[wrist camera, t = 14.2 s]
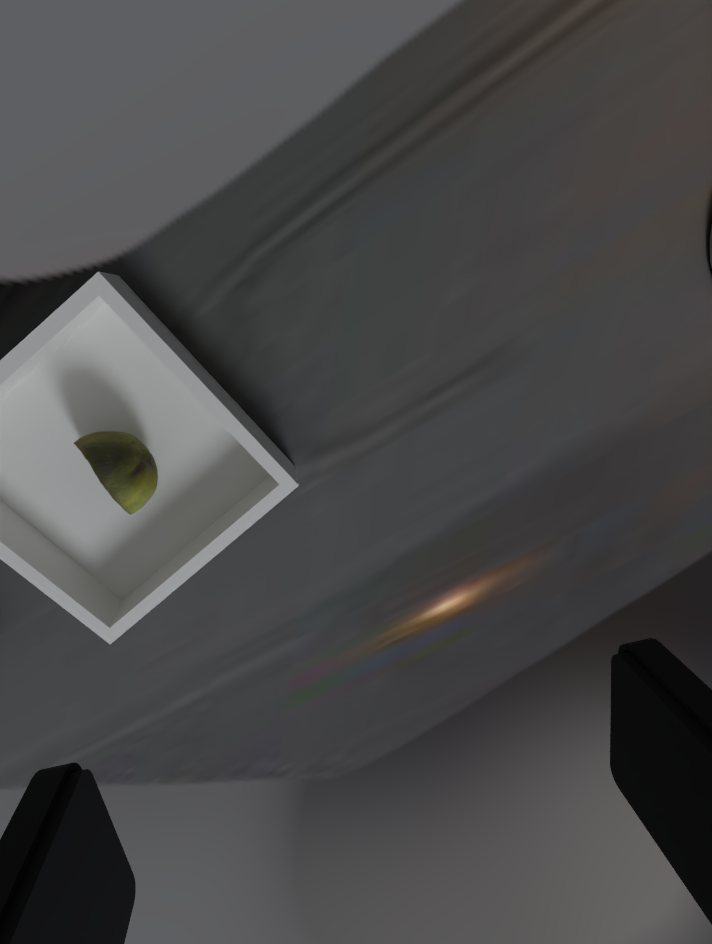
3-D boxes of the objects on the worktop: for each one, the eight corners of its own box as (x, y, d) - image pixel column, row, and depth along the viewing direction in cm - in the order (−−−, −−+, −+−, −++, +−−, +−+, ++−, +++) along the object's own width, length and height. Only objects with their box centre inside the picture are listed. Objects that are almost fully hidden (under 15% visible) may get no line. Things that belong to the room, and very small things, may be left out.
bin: (118, 275, 30) (98, 271, 26) (294, 466, 35) (298, 485, 31) (-72, 447, 31) (-118, 467, 27) (126, 608, 36) (110, 644, 32)
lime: (151, 505, 34) (133, 538, 29) (71, 476, 32) (38, 505, 27) (177, 441, 33) (163, 464, 28) (96, 408, 31) (67, 427, 27)
